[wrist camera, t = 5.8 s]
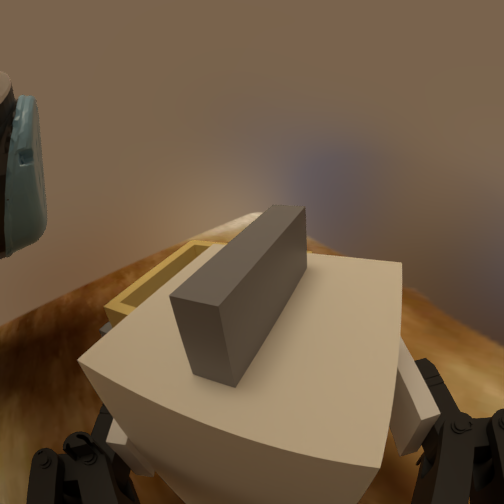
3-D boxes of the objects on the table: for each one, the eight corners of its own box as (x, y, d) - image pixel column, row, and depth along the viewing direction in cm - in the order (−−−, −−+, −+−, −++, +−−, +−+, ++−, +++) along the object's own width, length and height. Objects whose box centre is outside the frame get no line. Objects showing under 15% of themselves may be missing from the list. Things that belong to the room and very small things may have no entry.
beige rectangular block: (191, 509, 12) (43, 292, 6) (247, 420, 17) (205, 194, 11) (319, 551, 9) (417, 395, 3) (357, 446, 14) (407, 203, 8)
